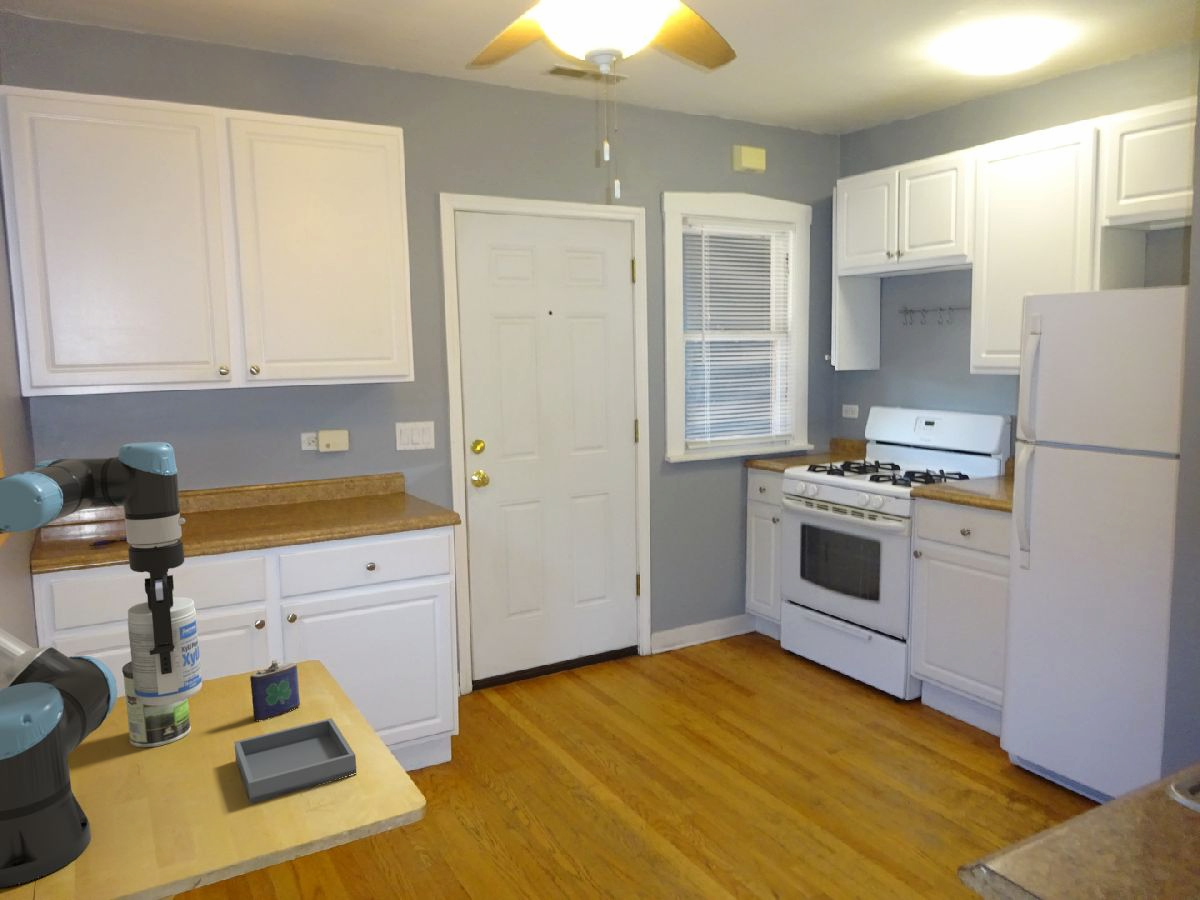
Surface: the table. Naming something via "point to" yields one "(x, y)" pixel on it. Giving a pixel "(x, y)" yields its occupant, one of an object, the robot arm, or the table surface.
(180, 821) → the table surface
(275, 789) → the tray
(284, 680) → the flask
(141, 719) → the coffee can
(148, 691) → the supplement tub
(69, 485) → the robot arm
